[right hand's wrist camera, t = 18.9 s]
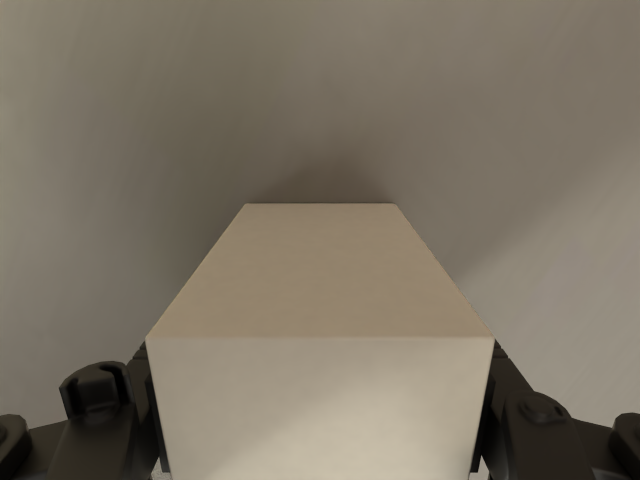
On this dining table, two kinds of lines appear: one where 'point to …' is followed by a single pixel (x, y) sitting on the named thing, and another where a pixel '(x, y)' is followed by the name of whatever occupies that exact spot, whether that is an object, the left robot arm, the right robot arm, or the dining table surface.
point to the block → (320, 353)
